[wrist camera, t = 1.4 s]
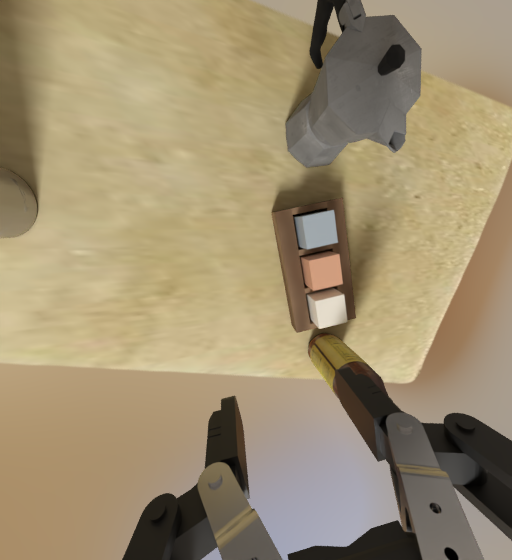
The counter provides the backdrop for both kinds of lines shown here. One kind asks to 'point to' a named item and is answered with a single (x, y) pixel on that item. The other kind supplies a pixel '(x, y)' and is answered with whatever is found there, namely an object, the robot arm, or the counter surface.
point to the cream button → (327, 307)
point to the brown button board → (291, 253)
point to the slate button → (316, 229)
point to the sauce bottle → (339, 361)
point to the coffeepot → (356, 85)
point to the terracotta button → (321, 270)
